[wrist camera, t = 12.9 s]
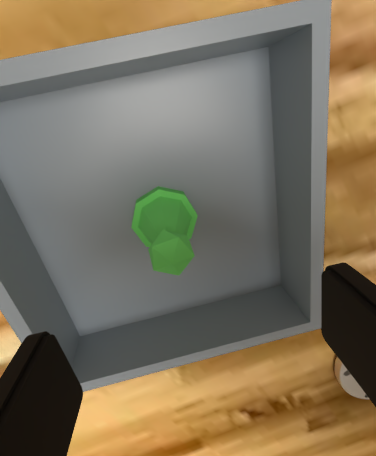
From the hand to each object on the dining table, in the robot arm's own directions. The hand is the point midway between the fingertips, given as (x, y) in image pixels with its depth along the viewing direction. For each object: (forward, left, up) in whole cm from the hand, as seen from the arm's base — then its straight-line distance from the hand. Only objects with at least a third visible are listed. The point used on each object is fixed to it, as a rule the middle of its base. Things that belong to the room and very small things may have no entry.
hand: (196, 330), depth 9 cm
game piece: (0, -1, -10) cm, 10 cm away
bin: (+1, -1, -10) cm, 10 cm away
